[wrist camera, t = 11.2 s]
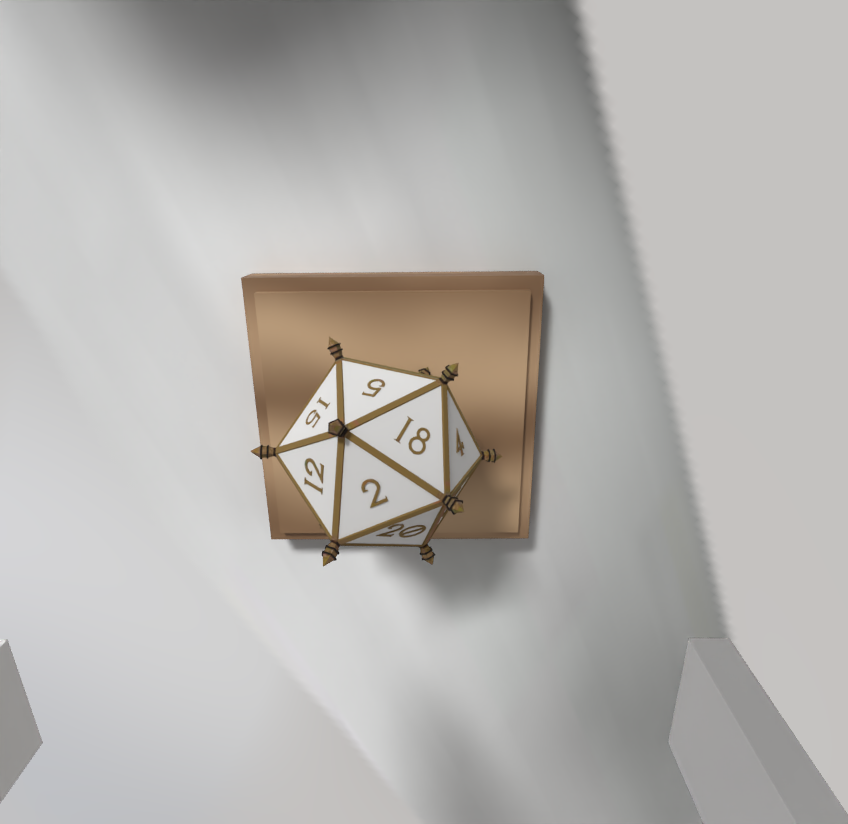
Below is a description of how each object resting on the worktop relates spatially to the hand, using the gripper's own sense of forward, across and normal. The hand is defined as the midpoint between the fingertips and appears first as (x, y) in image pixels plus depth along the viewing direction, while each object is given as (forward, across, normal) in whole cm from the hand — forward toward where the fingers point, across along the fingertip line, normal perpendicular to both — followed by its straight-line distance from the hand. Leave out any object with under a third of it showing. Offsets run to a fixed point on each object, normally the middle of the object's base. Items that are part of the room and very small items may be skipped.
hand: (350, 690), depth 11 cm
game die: (+16, 0, 0) cm, 16 cm away
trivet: (+18, 0, -1) cm, 18 cm away
